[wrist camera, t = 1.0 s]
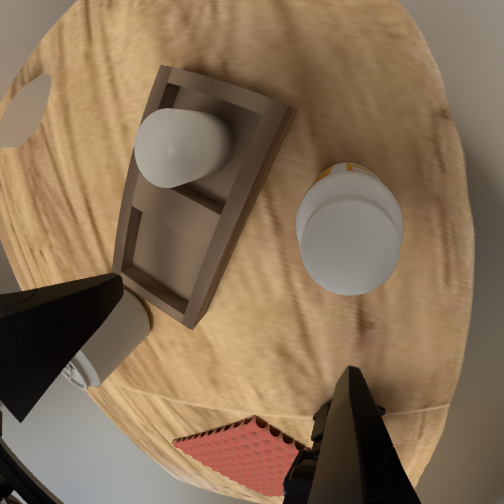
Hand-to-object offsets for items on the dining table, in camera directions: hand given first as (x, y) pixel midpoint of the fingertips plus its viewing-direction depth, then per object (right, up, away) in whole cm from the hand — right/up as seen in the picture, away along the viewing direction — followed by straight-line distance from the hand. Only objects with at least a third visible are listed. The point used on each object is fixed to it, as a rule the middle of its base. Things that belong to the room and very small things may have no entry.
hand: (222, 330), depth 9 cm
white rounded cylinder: (-2, +11, +10) cm, 15 cm away
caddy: (-4, +7, +13) cm, 16 cm away
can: (-14, -4, +22) cm, 27 cm away
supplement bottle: (+8, +6, +9) cm, 14 cm away
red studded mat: (+4, -37, +31) cm, 48 cm away
